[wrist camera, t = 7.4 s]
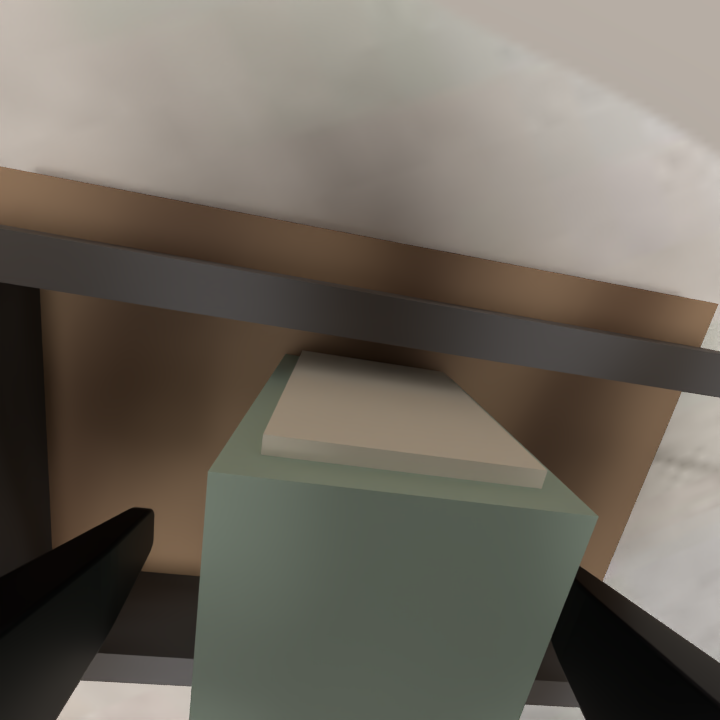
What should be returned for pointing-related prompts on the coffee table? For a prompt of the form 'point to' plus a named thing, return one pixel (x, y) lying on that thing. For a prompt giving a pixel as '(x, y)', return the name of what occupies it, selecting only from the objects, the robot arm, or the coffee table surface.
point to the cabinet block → (377, 553)
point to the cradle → (262, 356)
